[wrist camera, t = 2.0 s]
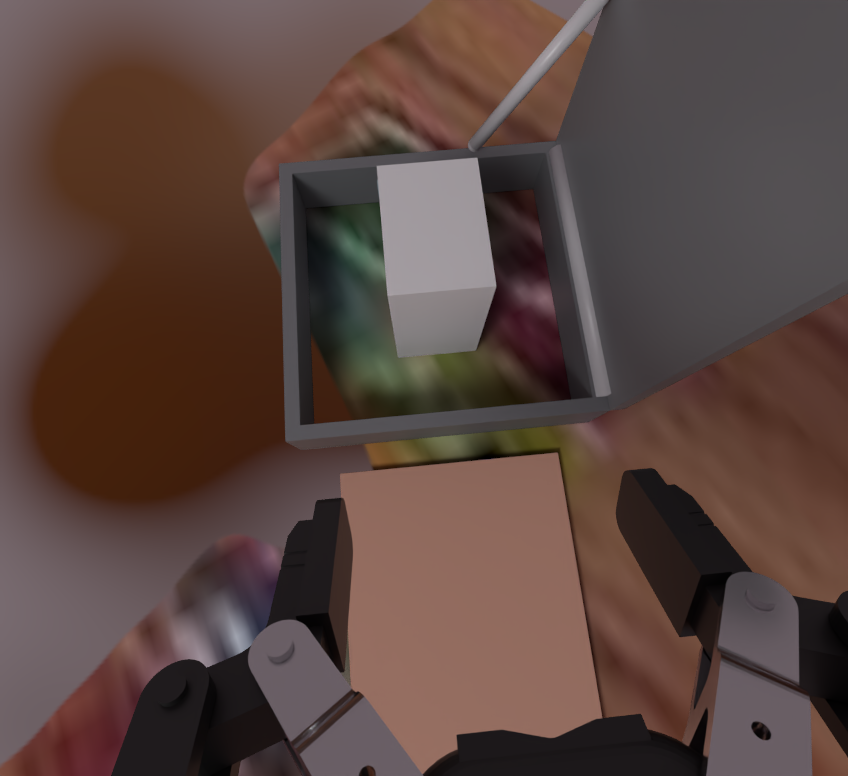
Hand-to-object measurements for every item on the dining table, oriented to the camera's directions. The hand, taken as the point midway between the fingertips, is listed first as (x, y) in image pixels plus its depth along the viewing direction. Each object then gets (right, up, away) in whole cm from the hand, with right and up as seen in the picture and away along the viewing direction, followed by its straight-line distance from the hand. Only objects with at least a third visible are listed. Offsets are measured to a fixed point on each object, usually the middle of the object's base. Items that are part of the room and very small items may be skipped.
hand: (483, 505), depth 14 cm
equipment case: (-1, +9, +18) cm, 20 cm away
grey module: (-1, +9, +18) cm, 20 cm away
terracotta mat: (+1, -9, +13) cm, 16 cm away
